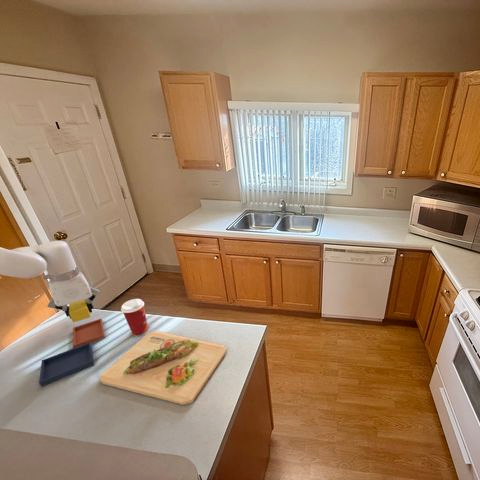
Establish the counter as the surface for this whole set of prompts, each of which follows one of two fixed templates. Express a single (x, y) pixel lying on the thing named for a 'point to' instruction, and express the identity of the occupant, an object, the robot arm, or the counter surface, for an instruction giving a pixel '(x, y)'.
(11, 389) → the counter surface
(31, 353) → the counter surface
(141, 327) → the paper cup
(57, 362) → the baking tray
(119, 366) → the cutting board
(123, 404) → the counter surface
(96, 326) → the sponge dish
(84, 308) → the sponge
